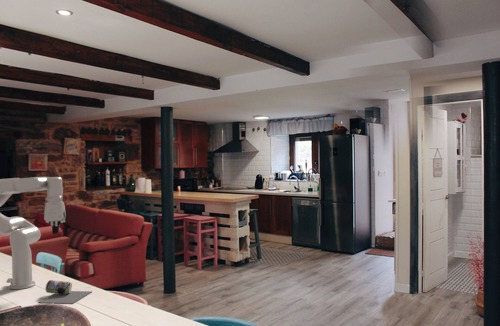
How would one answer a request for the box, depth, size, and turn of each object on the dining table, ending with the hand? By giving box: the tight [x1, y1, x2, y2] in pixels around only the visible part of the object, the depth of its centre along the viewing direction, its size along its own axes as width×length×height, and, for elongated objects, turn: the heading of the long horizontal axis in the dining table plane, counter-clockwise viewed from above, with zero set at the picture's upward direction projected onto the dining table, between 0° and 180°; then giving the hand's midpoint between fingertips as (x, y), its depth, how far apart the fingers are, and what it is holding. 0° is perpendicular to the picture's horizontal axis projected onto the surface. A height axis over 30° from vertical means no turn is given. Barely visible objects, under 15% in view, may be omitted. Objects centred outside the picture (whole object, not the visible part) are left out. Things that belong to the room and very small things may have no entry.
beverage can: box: [45, 279, 73, 294], centre depth 211 cm, size 6×7×12 cm
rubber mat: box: [37, 290, 93, 305], centre depth 206 cm, size 18×18×1 cm
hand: (55, 233), depth 225 cm, fingers closed
